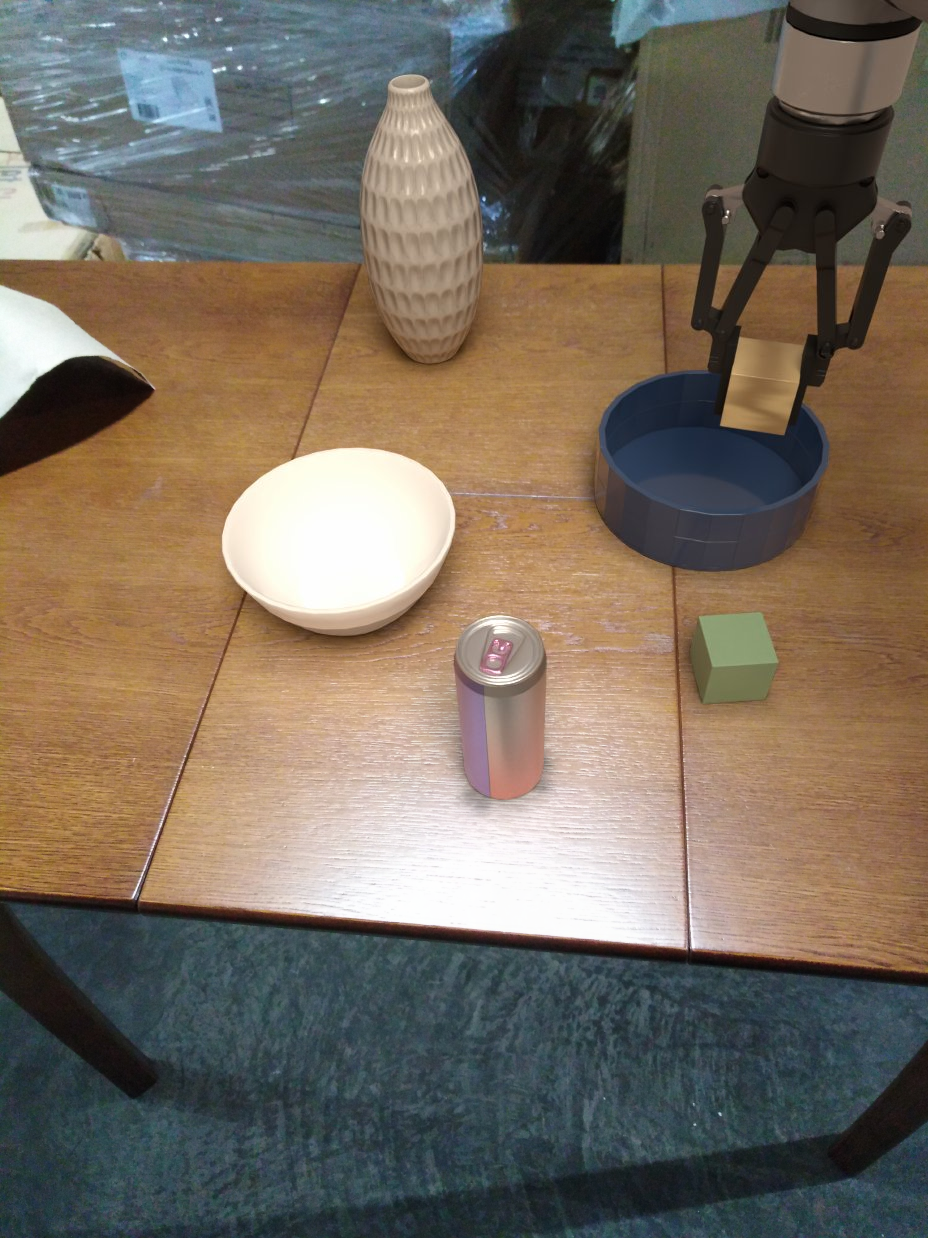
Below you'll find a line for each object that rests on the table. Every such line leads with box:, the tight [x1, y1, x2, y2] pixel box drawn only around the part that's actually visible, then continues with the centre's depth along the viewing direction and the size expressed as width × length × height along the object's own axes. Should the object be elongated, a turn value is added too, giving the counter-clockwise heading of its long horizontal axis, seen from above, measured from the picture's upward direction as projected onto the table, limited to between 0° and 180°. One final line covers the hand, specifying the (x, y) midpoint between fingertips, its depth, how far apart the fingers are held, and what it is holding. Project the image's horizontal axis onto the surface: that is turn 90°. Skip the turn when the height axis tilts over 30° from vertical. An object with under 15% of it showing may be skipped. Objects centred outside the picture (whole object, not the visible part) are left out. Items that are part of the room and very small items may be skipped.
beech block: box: [720, 336, 805, 435], centre depth 71 cm, size 5×5×5 cm
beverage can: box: [453, 614, 548, 800], centre depth 62 cm, size 6×6×15 cm
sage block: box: [689, 611, 780, 705], centre depth 70 cm, size 5×5×5 cm
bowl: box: [221, 447, 457, 637], centre depth 77 cm, size 20×20×8 cm
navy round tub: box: [593, 369, 831, 572], centre depth 83 cm, size 20×20×7 cm
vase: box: [358, 74, 485, 365], centre depth 93 cm, size 13×13×28 cm
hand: (755, 409), depth 72 cm, fingers closed on beech block, 5 cm apart
